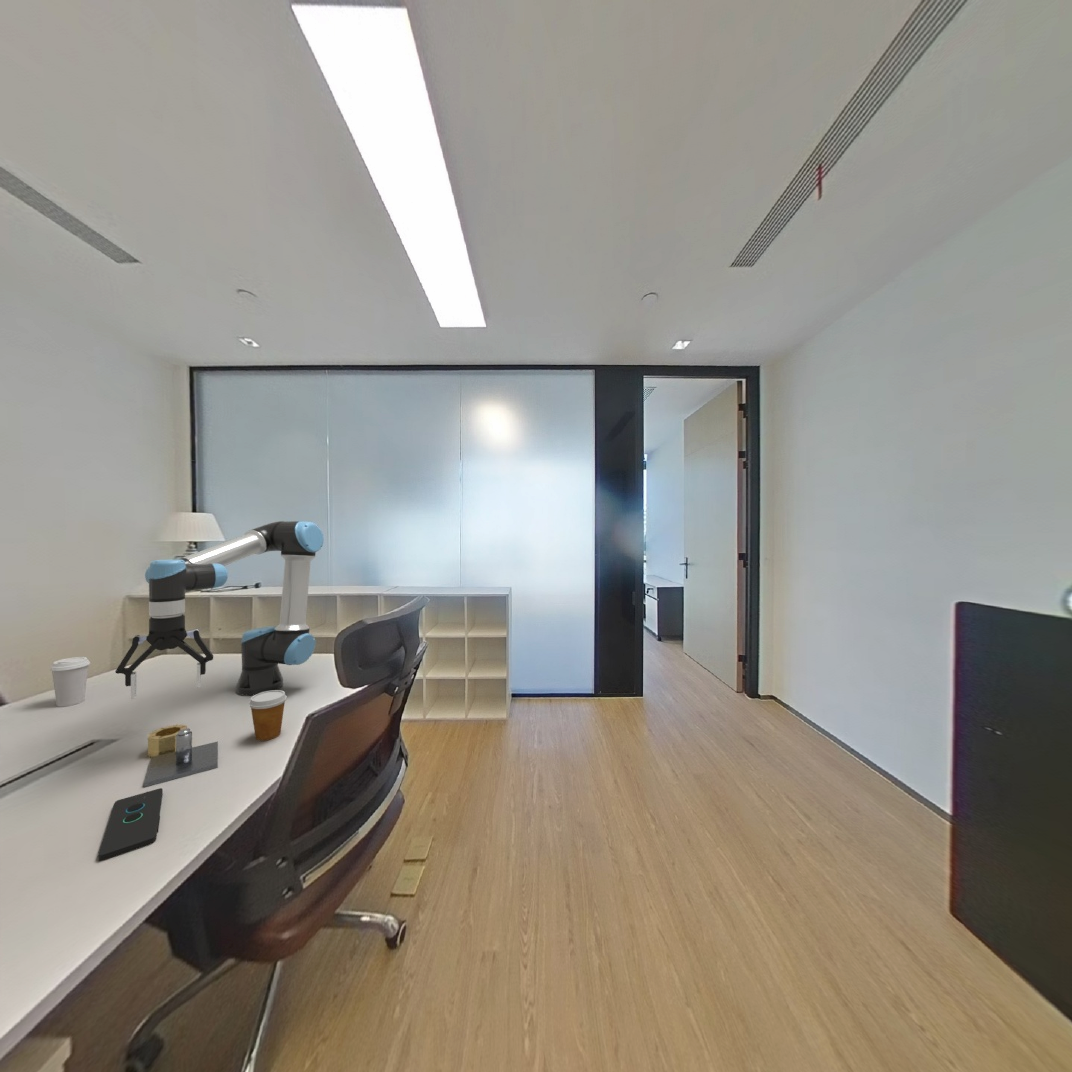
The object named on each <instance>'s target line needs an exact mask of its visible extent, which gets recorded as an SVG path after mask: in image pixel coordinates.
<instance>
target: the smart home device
mask: <svg viewBox="0 0 1072 1072" xmlns="http://www.w3.org/2000/svg"><path fill="white" fill-rule="evenodd" d="M163 792H164V791H163V788H160V787H159V788H156V789H153V790H149V791H145V792H142V793H138V794H135V795H131V796H128V797H125V798H121V799H118V800H116V801H114V803H113V806H112V809H111V812H110V816H109V818H108V821H107V824H106V828H105V832H104V835H103V837H102V841H101V843H100V847H99V851H98V861H99V862H102V861H105V860H108V859H111V858H114V857H117V856H120V855H123V854H126V853H129V852H131V851H134V850H138V849H140V848H143V847H147V846H149V845H152V844H154V843H155V842H156V841H157V836H158V832H159V828H160V823H161V822H160V820H161V815H160V814H161V808H162V803H163V802H162V800H163V795H164V793H163Z"/></svg>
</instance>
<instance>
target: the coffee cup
mask: <svg viewBox="0 0 1072 1072" xmlns="http://www.w3.org/2000/svg"><path fill="white" fill-rule="evenodd" d="M90 665H91V661H90V660H89V659H88V657H86V656H76V657H75V656H74V657H69V658H68V657H67V658H62V659H59V660H56V661H53V663H52V665H51V666H50V667H49V671H51V675H52V682H53V689H54V694H55V695H54V696H55V702H56V707H58V708H61V707H62V708H63V707H70V706H74V705H75V706H76V705H79V704H81V703H83V702H85V700H86V699H85V698H86V688H87V681H88V672H89V666H90Z"/></svg>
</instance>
